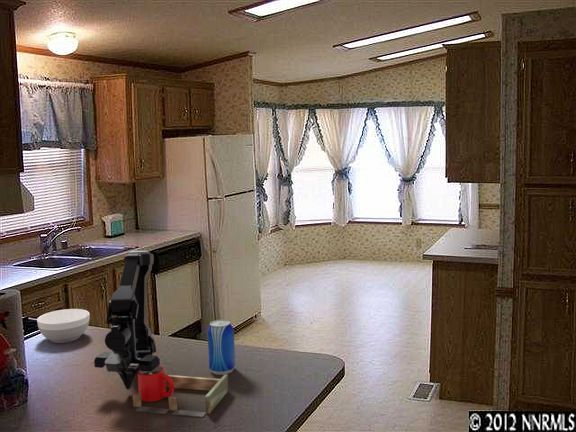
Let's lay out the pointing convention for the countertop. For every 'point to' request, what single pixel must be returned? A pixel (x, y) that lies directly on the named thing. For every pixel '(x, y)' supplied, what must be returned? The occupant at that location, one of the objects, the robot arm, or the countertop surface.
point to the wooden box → (198, 383)
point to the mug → (154, 384)
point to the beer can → (221, 347)
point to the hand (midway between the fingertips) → (128, 389)
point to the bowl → (63, 324)
